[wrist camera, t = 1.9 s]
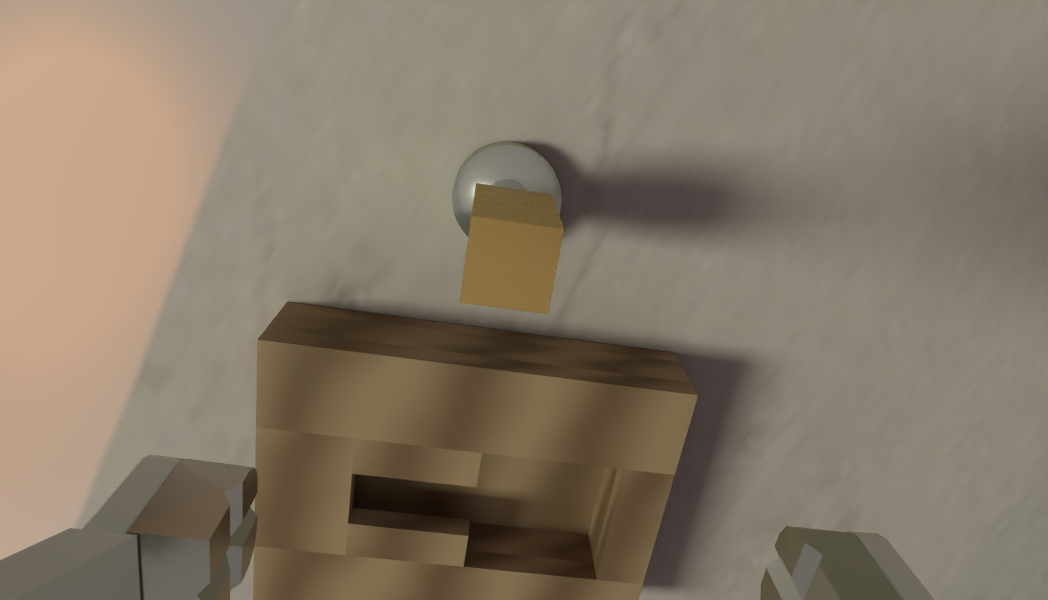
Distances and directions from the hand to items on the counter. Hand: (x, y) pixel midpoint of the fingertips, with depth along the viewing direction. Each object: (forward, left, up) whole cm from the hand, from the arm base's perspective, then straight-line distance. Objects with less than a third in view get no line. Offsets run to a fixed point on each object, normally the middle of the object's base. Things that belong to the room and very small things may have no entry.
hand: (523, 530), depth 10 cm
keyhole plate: (0, +15, -23) cm, 27 cm away
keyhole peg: (0, 0, -23) cm, 23 cm away
